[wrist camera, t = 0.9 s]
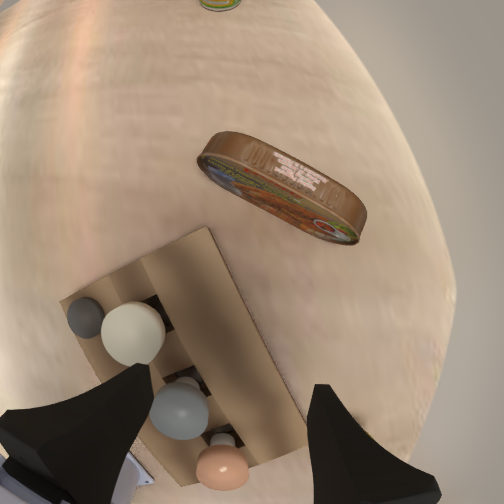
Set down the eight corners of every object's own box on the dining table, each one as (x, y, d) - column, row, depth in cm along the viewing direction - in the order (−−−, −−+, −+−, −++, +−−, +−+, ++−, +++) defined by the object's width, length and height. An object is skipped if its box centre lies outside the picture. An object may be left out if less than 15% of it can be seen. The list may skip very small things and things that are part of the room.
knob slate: (178, 413, 24) (169, 445, 18) (153, 376, 23) (138, 403, 18) (219, 398, 24) (218, 430, 19) (196, 359, 24) (189, 385, 18)
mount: (184, 468, 27) (180, 493, 23) (76, 296, 26) (53, 303, 22) (306, 424, 28) (317, 447, 24) (209, 228, 27) (205, 224, 23)
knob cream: (139, 351, 23) (120, 374, 18) (116, 306, 23) (91, 320, 18) (182, 333, 24) (170, 354, 18) (158, 286, 23) (140, 296, 18)
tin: (199, 176, 27) (188, 148, 19) (215, 149, 27) (210, 112, 19) (334, 249, 29) (374, 249, 20) (347, 221, 29) (389, 212, 20)
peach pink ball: (213, 461, 24) (212, 495, 19) (191, 433, 24) (186, 466, 18) (252, 448, 24) (257, 482, 19) (232, 419, 24) (234, 452, 19)
